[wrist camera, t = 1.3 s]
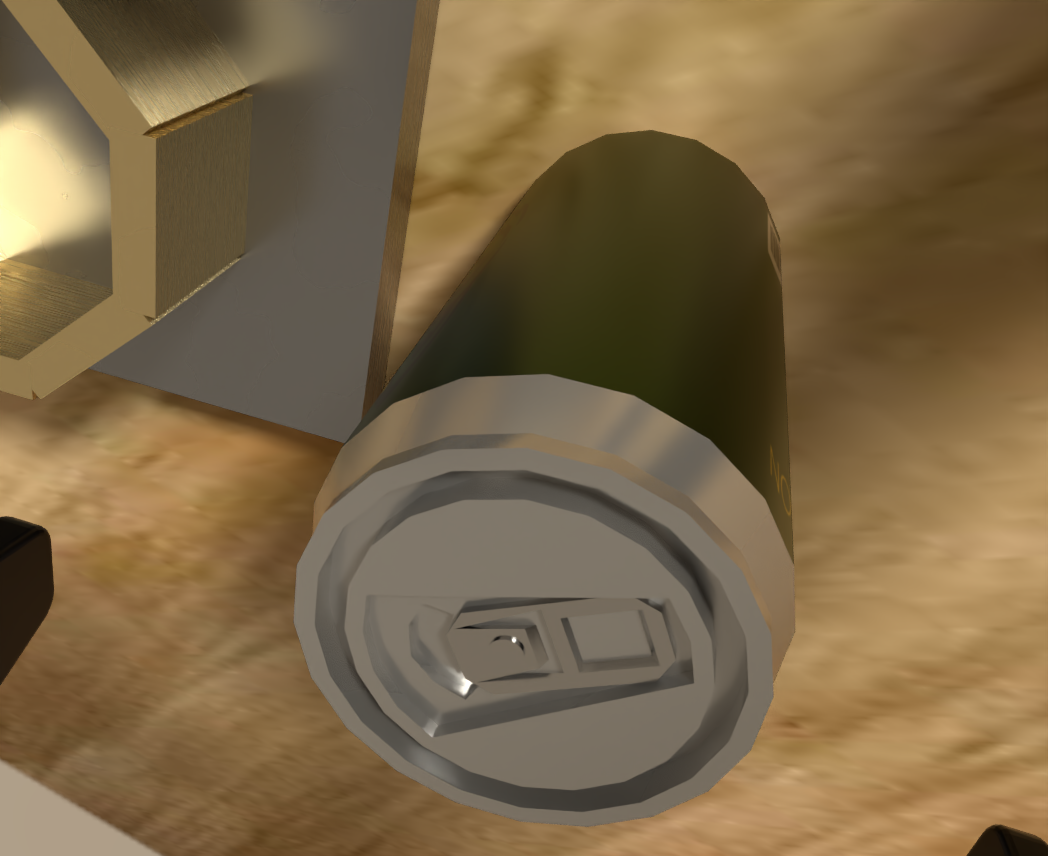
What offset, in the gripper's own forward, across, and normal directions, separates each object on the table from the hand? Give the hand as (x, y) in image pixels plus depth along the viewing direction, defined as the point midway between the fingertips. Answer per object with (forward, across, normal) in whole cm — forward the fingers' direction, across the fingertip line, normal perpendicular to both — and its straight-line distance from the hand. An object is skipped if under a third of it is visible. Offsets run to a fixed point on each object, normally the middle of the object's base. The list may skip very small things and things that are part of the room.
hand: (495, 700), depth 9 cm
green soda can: (+13, 0, 0) cm, 13 cm away
